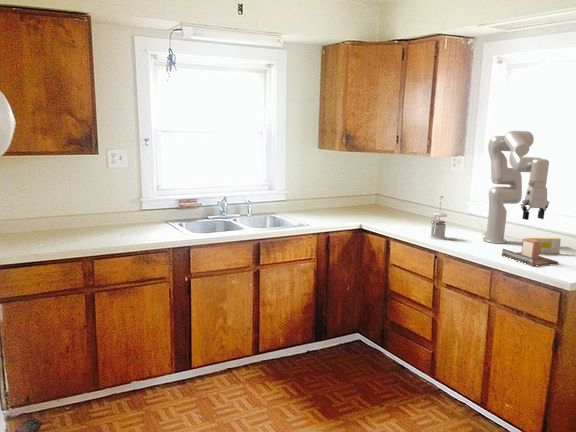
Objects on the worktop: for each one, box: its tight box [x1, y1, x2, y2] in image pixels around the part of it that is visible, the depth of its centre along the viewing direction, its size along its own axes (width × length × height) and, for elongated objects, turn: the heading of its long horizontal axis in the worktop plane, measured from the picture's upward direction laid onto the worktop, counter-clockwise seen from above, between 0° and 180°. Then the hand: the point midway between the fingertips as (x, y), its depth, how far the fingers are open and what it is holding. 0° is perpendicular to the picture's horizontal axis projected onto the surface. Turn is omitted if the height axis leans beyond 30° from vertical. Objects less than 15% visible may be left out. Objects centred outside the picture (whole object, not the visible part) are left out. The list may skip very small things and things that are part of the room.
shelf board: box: [501, 251, 559, 267], centre depth 250 cm, size 20×16×1 cm
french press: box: [428, 195, 448, 241], centre depth 293 cm, size 10×12×25 cm
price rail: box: [501, 248, 535, 264], centre depth 247 cm, size 20×1×2 cm, turn 20°
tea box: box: [521, 237, 541, 259], centre depth 249 cm, size 4×7×9 cm, turn 20°
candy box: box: [529, 237, 562, 255], centre depth 265 cm, size 16×2×8 cm, turn 93°
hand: (533, 218), depth 248 cm, fingers open, 9 cm apart
